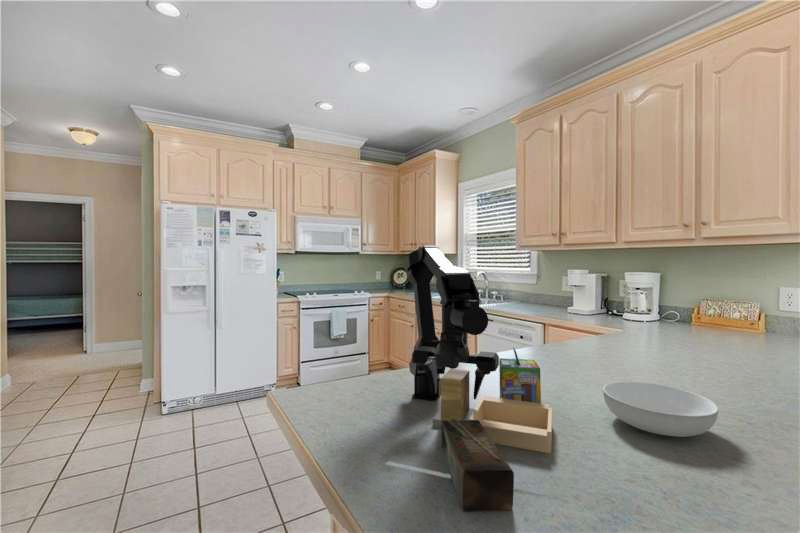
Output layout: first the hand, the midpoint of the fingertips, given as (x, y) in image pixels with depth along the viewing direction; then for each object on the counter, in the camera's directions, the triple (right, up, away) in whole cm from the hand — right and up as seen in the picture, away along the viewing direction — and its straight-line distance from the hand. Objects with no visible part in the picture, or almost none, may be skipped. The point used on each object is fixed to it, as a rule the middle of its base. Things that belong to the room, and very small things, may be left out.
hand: (454, 396), depth 85 cm
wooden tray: (+11, -6, -5) cm, 14 cm away
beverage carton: (0, -7, -20) cm, 21 cm away
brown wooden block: (0, -4, +1) cm, 4 cm away
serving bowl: (+44, -7, -1) cm, 45 cm away
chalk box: (+17, -6, +9) cm, 20 cm away
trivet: (0, -6, +1) cm, 6 cm away
